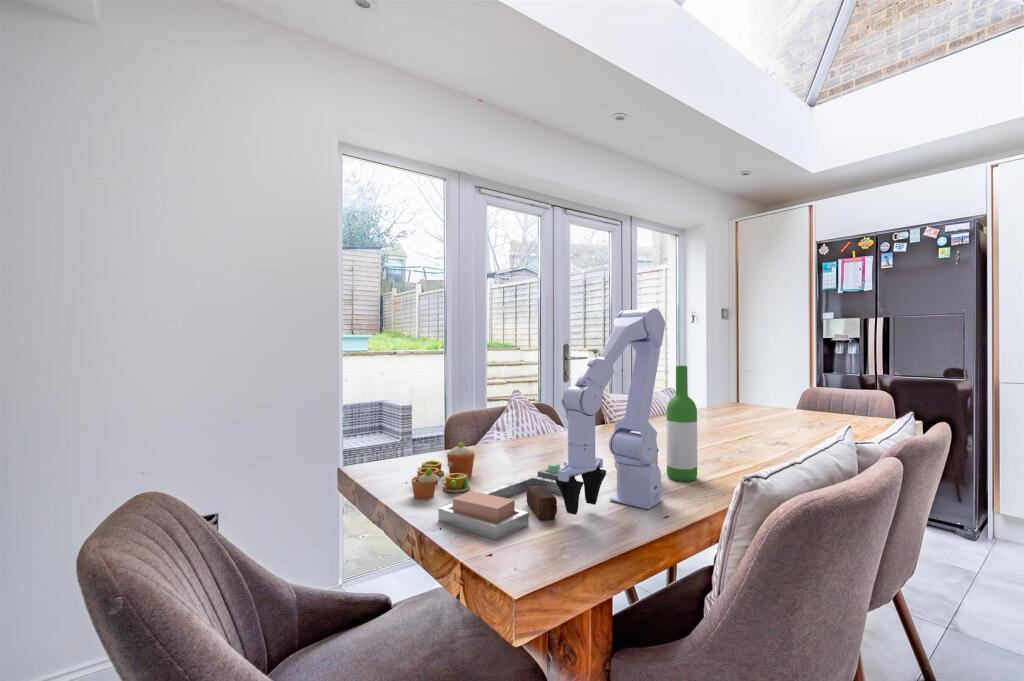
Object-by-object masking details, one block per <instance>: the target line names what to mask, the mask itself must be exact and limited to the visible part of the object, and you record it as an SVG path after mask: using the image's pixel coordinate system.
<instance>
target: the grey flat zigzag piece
mask: <svg viewBox="0 0 1024 681" xmlns="http://www.w3.org/2000/svg"><path fill="white" fill-rule="evenodd" d="M529 486H543V487H546V488H547V489H548V490H549V491H550V492H551V493H552V494H558V495H561V496H562V493H561V491H560V489H559V487H558V485H557V484H556V481H555V480H550V479H546V478H541V477H538V475H536V476H535V475H530V476H527V477H524V478H521V479H518V480H516V481H512V482H509V483H506V484H504V485H501V486H498V487H496V488H495V487H494V488H492V489H489V490H486V491H483V492H482V493H483V494H488V495H493V496H498V497H503V498H507V499H509V498H510V497H514V496H515V494H516V495H518V494H520V492H521V493H523V491H524V492H527V491H528V487H529ZM529 515H530V514H529V512H528V511H525V510H521V509H518V508H515V515H514V516H511V517H509V518H507V519H505V520H502V521H500V522H498V523H492V522H489V521H486V520H483V519H480V518H477V517H474V516H470V515H467V514H464V513H461V512H458V511H455V510H453V502H452V503H449V504H447V505H444V506H441V507H439V508H438V521H439V522H442V523H445V524H448V525H451V526H453V527H456V528H460V529H462V530H465V531H467V532H470V533H474V534H476V535H478V536H482V537H483V538H484V537H485V538H486V539H487V538H488V539H490V540H494V542H496V541H499V540H500V539H503V538H504V537H507V536H508V535H510V534H514V533H516V532H517V531H519V530H521V529H523V528H526V527H527V526H529V524H530V522H529V521H530V520H529V519H530V518H529V517H530V516H529Z"/></svg>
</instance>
